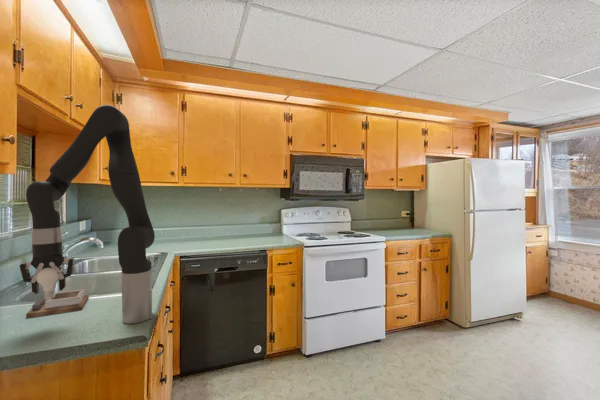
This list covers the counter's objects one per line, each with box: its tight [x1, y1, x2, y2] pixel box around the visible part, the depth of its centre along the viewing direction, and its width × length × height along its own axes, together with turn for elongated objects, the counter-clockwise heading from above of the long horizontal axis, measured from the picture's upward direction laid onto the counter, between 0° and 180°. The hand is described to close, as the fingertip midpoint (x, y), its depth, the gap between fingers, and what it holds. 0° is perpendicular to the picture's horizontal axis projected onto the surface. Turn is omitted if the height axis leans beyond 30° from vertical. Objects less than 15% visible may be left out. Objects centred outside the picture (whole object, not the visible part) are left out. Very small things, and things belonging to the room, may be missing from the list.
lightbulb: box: [36, 268, 60, 299], centre depth 97 cm, size 6×6×11 cm
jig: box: [25, 288, 90, 319], centre depth 113 cm, size 16×14×4 cm
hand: (49, 291), depth 97 cm, fingers closed on lightbulb, 5 cm apart
